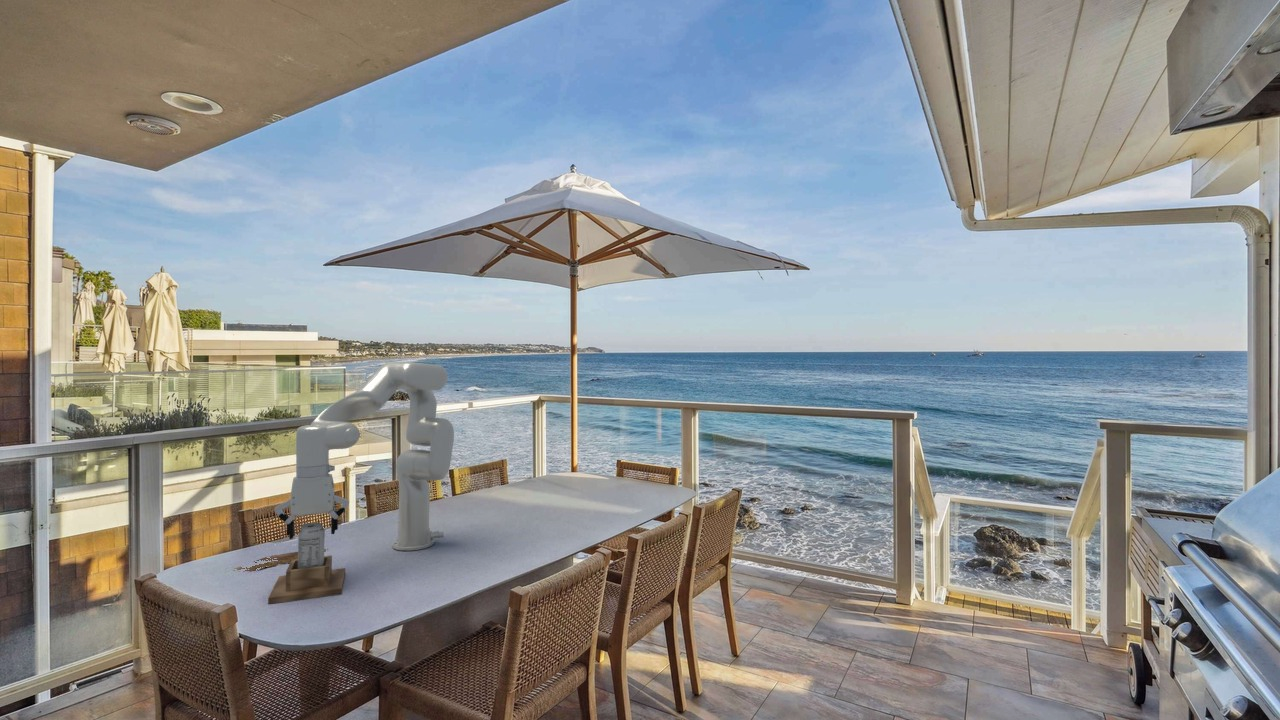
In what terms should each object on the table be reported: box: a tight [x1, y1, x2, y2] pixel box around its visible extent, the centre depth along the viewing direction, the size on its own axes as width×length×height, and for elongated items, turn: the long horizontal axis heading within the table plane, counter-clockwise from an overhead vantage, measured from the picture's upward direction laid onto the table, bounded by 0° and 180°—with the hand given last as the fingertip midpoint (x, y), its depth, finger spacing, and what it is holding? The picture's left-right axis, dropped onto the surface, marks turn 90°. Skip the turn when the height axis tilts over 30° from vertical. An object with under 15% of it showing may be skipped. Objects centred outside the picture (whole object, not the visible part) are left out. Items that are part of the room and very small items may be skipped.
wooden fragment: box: [233, 548, 329, 572], centre depth 170 cm, size 26×11×1 cm, turn 138°
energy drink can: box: [297, 522, 326, 569], centre depth 149 cm, size 6×6×15 cm
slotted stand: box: [267, 555, 346, 605], centre depth 149 cm, size 16×16×6 cm
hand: (312, 535), depth 150 cm, fingers open, 9 cm apart
